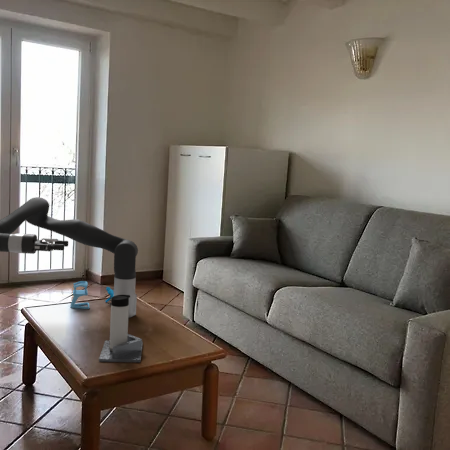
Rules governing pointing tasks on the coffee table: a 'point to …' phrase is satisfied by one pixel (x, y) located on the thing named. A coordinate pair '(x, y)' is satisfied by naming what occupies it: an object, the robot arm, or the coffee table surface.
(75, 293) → the chair
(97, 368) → the coffee table surface
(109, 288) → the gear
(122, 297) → the travel mug
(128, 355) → the v block
